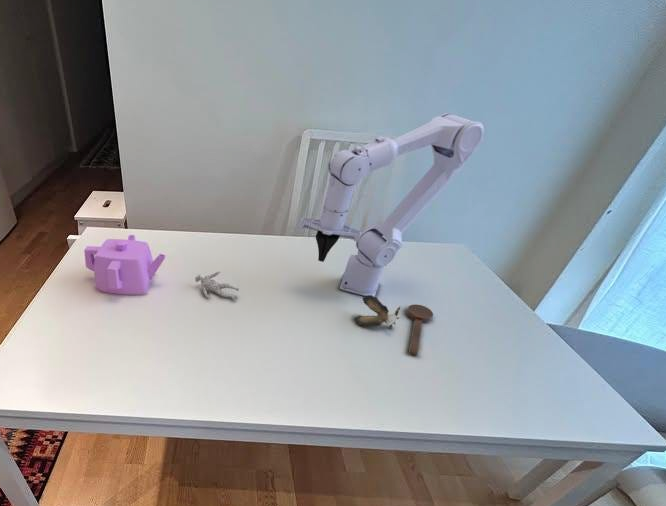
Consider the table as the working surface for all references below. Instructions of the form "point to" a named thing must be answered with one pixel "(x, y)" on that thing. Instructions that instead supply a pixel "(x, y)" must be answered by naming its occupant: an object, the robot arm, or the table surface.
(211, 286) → the soldier figure
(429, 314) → the round wooden paddle
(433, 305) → the table surface
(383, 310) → the eagle figurine
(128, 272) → the teakettle
